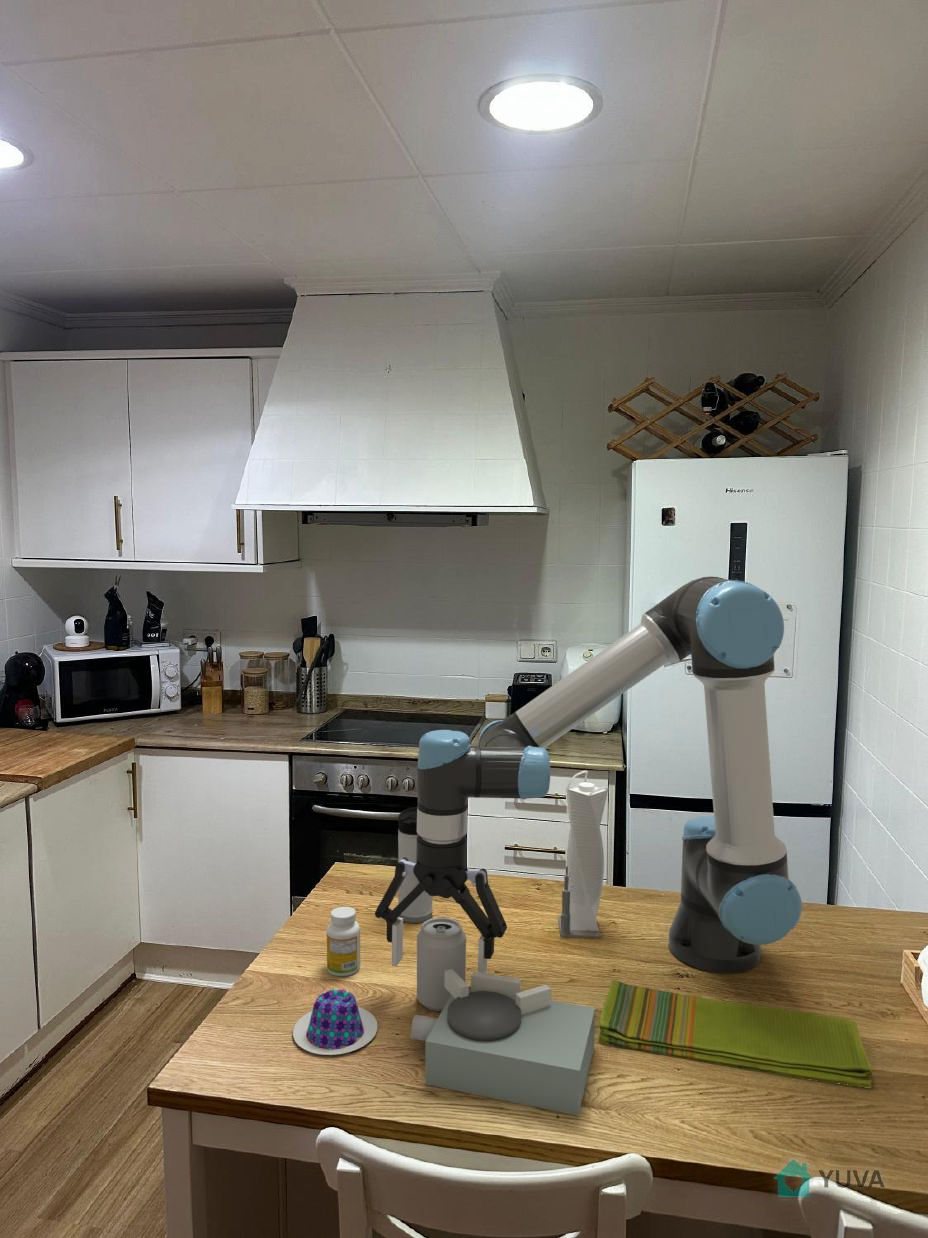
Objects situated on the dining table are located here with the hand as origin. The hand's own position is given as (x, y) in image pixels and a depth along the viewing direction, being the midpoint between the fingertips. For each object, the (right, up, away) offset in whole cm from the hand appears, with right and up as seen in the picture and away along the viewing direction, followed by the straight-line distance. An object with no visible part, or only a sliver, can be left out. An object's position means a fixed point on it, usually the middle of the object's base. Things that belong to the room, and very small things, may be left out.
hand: (439, 969), depth 129 cm
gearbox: (+8, -7, -14) cm, 18 cm away
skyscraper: (+25, -3, +25) cm, 35 cm away
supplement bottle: (-16, -4, +10) cm, 19 cm away
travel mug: (-5, -2, +28) cm, 29 cm away
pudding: (-15, -6, -7) cm, 18 cm away
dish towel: (+42, -7, -7) cm, 43 cm away
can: (0, -5, +1) cm, 5 cm away
